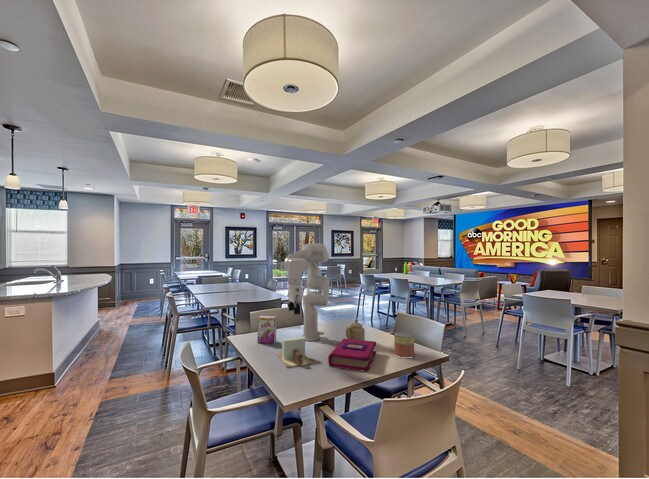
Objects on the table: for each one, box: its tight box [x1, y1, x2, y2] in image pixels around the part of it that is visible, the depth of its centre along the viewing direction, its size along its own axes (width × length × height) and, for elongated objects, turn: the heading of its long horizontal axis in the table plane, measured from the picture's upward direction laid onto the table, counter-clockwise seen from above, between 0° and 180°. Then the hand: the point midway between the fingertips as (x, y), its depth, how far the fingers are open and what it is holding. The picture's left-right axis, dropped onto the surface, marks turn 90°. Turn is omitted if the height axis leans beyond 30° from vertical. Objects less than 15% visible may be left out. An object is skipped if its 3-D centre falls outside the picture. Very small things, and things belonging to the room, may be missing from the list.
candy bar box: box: [257, 315, 277, 344], centre depth 194 cm, size 11×5×16 cm, turn 84°
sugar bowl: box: [345, 318, 366, 341], centre depth 196 cm, size 15×11×15 cm
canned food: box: [393, 330, 415, 358], centre depth 174 cm, size 11×11×12 cm
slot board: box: [275, 349, 314, 369], centre depth 167 cm, size 14×22×6 cm, turn 24°
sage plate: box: [281, 336, 306, 360], centre depth 167 cm, size 12×4×10 cm, turn 114°
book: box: [327, 338, 377, 372], centre depth 167 cm, size 21×28×8 cm
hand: (294, 312), depth 167 cm, fingers open, 9 cm apart
